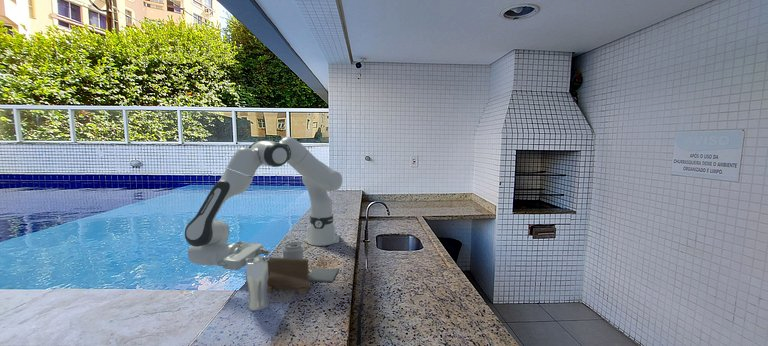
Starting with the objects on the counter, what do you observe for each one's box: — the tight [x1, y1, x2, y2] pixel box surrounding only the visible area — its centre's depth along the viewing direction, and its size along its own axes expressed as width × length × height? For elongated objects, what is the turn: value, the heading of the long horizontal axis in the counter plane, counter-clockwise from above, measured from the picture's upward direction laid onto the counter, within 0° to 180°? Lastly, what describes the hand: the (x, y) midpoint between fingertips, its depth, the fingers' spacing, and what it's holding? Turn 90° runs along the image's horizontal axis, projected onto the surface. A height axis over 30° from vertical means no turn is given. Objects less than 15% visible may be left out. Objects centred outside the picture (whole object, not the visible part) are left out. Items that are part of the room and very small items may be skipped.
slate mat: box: [308, 267, 339, 283], centre depth 122 cm, size 11×10×1 cm
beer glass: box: [245, 255, 270, 312], centre depth 97 cm, size 7×7×15 cm
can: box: [282, 242, 304, 259], centre depth 122 cm, size 8×8×12 cm
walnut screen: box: [267, 257, 311, 295], centre depth 109 cm, size 6×14×11 cm, turn 86°
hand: (263, 256), depth 123 cm, fingers open, 8 cm apart
